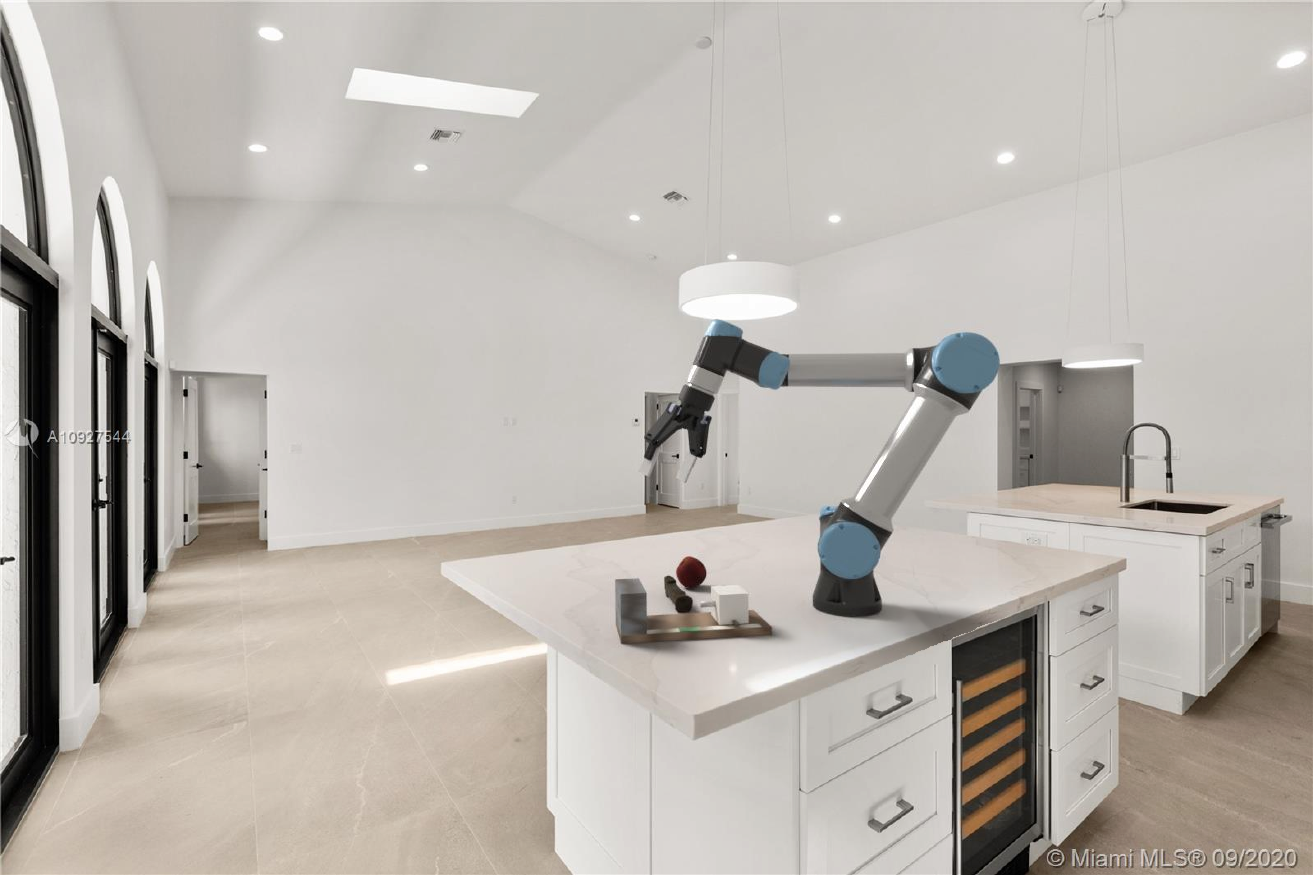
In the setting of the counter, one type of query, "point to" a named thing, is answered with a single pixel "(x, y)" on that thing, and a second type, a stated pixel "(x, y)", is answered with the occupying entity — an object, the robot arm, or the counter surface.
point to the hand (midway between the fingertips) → (663, 477)
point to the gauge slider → (728, 605)
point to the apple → (691, 572)
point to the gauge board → (671, 620)
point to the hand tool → (677, 595)
